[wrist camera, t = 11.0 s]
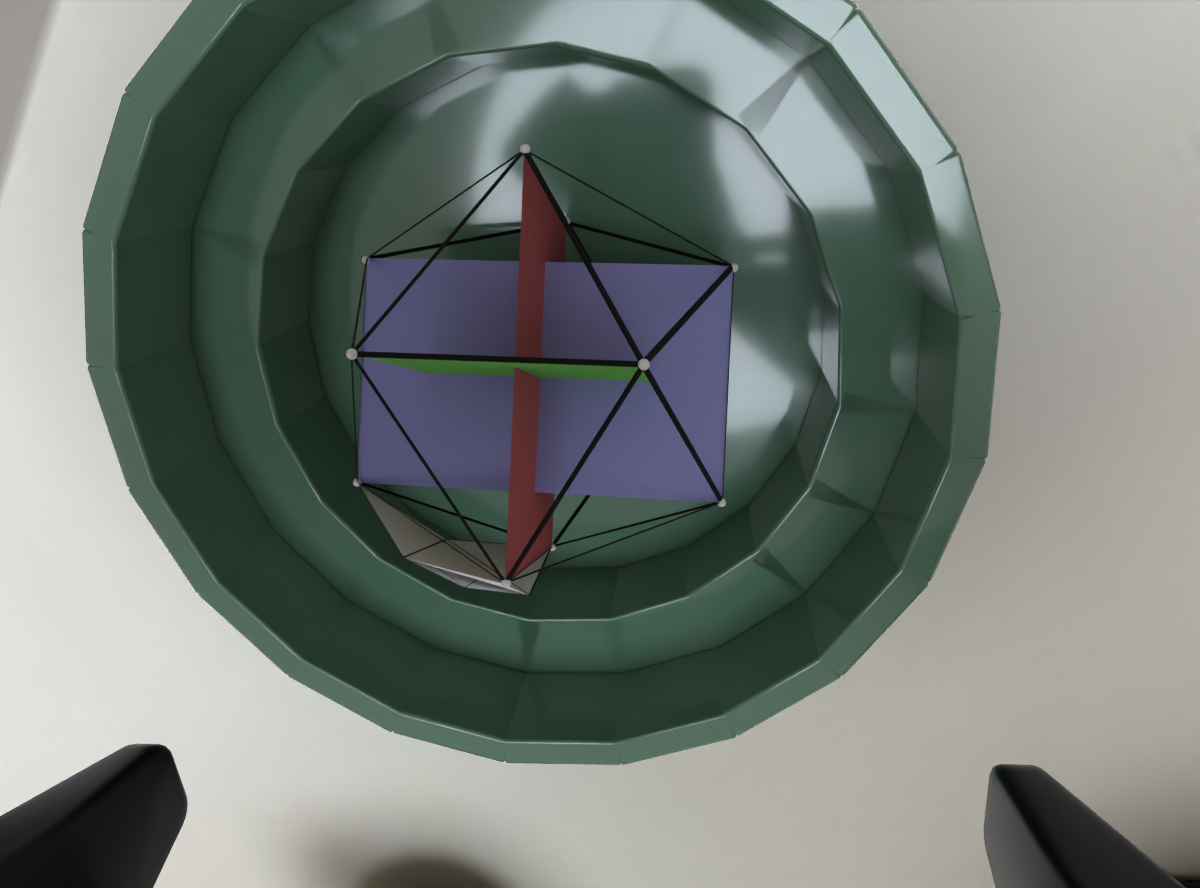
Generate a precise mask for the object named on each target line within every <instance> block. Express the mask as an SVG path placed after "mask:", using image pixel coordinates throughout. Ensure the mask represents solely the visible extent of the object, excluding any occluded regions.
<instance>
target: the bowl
mask: <svg viewBox="0 0 1200 888" xmlns="http://www.w3.org/2000/svg"><path fill="white" fill-rule="evenodd" d="M856 8H857V6H856V4H855V3H853V2H852V1H850V0H192V2H191V3H190V4H189V6H188V7H187V8H186V10H185V11H184V12H183V14H182V15H181V16H180V18H179V19H178V20H177V21H176V23H175V24H174V25H173V27H172V28H171V29H170V31H169V32H168V33H167V35H166V36H165V37H164V39H163V40H162V41H161V42H160V44H159V45H158V46H157V48H156V49H155V50H154V52H153V53H152V54H151V56H150V57H149V58H148V60H147V61H146V62H145V63H144V65H143V66H142V67H141V69H140V70H139V71H138V73H137V74H136V75H135V77H134V78H133V79H132V81H131V82H130V83H129V84H128V86H127V87H126V89H125V91H126V93H124V94H123V96H122V99H121V102H120V106H119V109H118V112H117V116H116V119H115V122H114V126H113V129H112V132H111V135H110V139H109V142H108V145H107V149H106V152H105V155H104V159H103V162H102V165H101V169H100V172H99V175H98V179H97V182H96V185H95V189H94V192H93V195H92V199H91V202H90V205H89V208H88V212H87V215H86V218H85V222H84V228H85V230H83V264H84V296H85V328H86V360H87V363H88V364H89V366H88V371H89V373H90V376H91V379H92V382H93V385H94V388H95V391H96V394H97V397H98V400H99V403H100V406H101V409H102V412H103V415H104V418H105V421H106V424H107V427H108V430H109V433H110V436H111V439H112V442H113V445H114V448H115V451H116V454H117V457H118V460H119V463H120V466H121V469H122V472H123V475H124V478H125V481H126V484H127V486H128V487H129V488H130V489H129V492H130V493H131V495H132V496H133V498H134V499H135V501H136V502H137V504H138V505H139V507H140V508H141V510H142V511H143V513H144V514H145V516H146V517H147V519H148V520H149V522H150V524H151V525H152V527H153V528H154V530H155V531H156V533H157V534H158V536H159V537H160V539H161V540H162V542H163V543H164V545H165V546H166V548H167V549H168V551H169V552H170V554H171V555H172V557H173V558H174V560H175V561H176V563H177V564H178V566H179V567H180V569H181V570H182V572H183V573H184V575H185V576H186V578H187V579H188V581H189V582H190V584H191V585H192V587H193V588H194V590H195V591H196V592H197V593H199V596H200V597H201V598H203V599H204V600H205V601H206V602H207V603H208V604H209V605H210V606H211V607H212V608H214V609H215V610H216V611H217V612H218V613H219V614H220V615H221V616H222V617H223V618H225V619H226V620H227V621H228V622H229V623H230V624H231V625H232V626H233V627H235V628H236V629H237V630H238V631H239V632H240V633H241V634H242V635H243V636H244V637H246V638H247V639H248V640H249V641H250V642H251V643H252V644H253V645H254V646H255V647H257V648H258V649H259V650H260V651H261V652H262V653H263V654H264V655H265V656H266V657H268V658H269V659H270V660H271V661H272V662H273V663H274V664H275V665H276V666H277V667H279V668H280V669H281V670H282V671H283V672H284V673H285V674H289V675H288V676H289V677H291V678H292V679H294V680H296V681H298V682H300V683H302V684H303V685H305V686H307V687H309V688H311V689H313V690H314V691H316V692H318V693H320V694H322V695H323V696H325V697H327V698H329V699H331V700H333V701H334V702H336V703H338V704H340V705H342V706H344V707H345V708H347V709H349V710H351V711H353V712H355V713H356V714H358V715H360V716H362V717H364V718H366V719H367V720H369V721H371V722H373V723H375V724H377V725H378V726H380V727H382V728H384V729H386V730H388V731H389V732H392V731H393V732H394V733H397V734H400V735H404V736H408V737H411V738H415V739H419V740H423V741H426V742H430V743H434V744H437V745H441V746H445V747H449V748H452V749H456V750H460V751H464V752H467V753H471V754H475V755H478V756H482V757H486V758H490V759H493V760H497V761H501V762H504V761H506V762H507V763H542V764H596V765H620V764H623V765H625V764H629V763H633V762H637V761H641V760H645V759H649V758H653V757H657V756H662V755H666V754H670V753H674V752H678V751H682V750H686V749H690V748H694V747H698V746H703V745H707V744H711V743H715V742H719V741H723V740H727V739H731V738H734V737H735V736H736V735H740V734H742V733H744V732H746V731H747V730H749V729H751V728H753V727H754V726H756V725H758V724H760V723H761V722H763V721H765V720H767V719H768V718H770V717H772V716H774V715H775V714H777V713H779V712H781V711H782V710H784V709H786V708H788V707H789V706H791V705H793V704H795V703H797V702H798V701H800V700H802V699H804V698H805V697H807V696H809V695H811V694H812V693H814V692H816V691H818V690H819V689H821V688H823V687H825V686H826V685H828V684H830V683H832V682H833V681H835V680H837V679H839V678H840V676H841V675H844V674H845V673H846V672H847V671H848V670H849V669H850V668H851V667H852V666H853V665H854V664H855V663H856V661H857V660H858V659H859V658H860V657H861V656H862V655H863V654H864V653H865V652H866V651H867V650H868V649H869V648H870V647H871V645H872V644H873V643H874V642H875V641H876V640H877V639H878V638H879V637H880V636H881V635H882V634H883V633H884V632H885V631H886V629H887V628H888V627H889V626H890V625H891V624H892V623H893V622H894V621H895V620H896V619H897V618H898V617H899V616H900V615H901V613H902V612H903V611H904V610H905V609H906V608H907V607H908V606H909V605H910V604H911V603H912V602H913V601H914V600H915V599H916V597H917V596H918V595H919V594H920V593H921V592H922V591H923V590H924V589H925V588H926V587H927V585H928V582H929V581H930V580H931V579H932V577H933V574H934V572H935V570H936V568H937V566H938V563H939V561H940V559H941V557H942V555H943V553H944V550H945V548H946V546H947V544H948V542H949V540H950V537H951V535H952V533H953V531H954V529H955V527H956V524H957V522H958V520H959V518H960V516H961V513H962V511H963V509H964V507H965V505H966V503H967V500H968V498H969V496H970V494H971V492H972V490H973V487H974V485H975V483H976V481H977V479H978V476H979V474H980V472H981V470H982V468H983V466H984V463H985V458H987V456H988V446H989V435H990V424H991V413H992V403H993V392H994V381H995V370H996V359H997V349H998V338H999V327H1000V316H1001V312H1000V310H999V309H1000V303H999V299H998V295H997V292H996V288H995V284H994V280H993V276H992V272H991V269H990V265H989V261H988V257H987V253H986V249H985V246H984V242H983V238H982V234H981V230H980V227H979V223H978V219H977V215H976V211H975V207H974V204H973V200H972V196H971V192H970V188H969V184H968V181H967V177H966V173H965V169H964V165H963V161H962V158H961V154H960V153H959V152H957V148H956V145H955V144H954V143H953V141H952V140H951V138H950V137H949V135H948V134H947V133H946V131H945V130H944V128H943V127H942V125H941V124H940V122H939V121H938V120H937V118H936V117H935V115H934V114H933V112H932V111H931V110H930V108H929V107H928V105H927V104H926V102H925V101H924V100H923V98H922V97H921V95H920V94H919V92H918V91H917V89H916V88H915V87H914V85H913V84H912V82H911V81H910V79H909V78H908V77H907V75H906V74H905V72H904V71H903V69H902V68H901V67H900V65H899V64H898V62H897V61H896V59H895V58H894V56H893V55H892V54H891V52H890V51H889V49H888V48H887V46H886V45H885V44H884V42H883V41H882V39H881V38H880V36H879V35H878V34H877V32H876V31H875V29H874V28H873V26H872V25H871V23H870V22H869V21H868V19H867V18H866V16H865V15H864V13H863V12H862V11H861V10H859V9H857V10H856ZM522 144H528V145H529V147H530V152H531V153H533V154H535V155H537V156H538V157H540V158H542V159H544V160H546V161H547V162H549V163H551V164H553V165H554V166H556V167H558V168H560V169H562V170H563V171H565V172H567V173H569V174H571V175H572V176H574V177H576V178H578V179H580V180H581V181H583V182H585V183H587V184H589V185H590V186H592V187H594V188H596V189H597V190H599V191H601V192H603V193H605V194H606V195H608V196H610V197H612V198H614V199H615V200H617V201H619V202H621V203H623V204H624V205H626V206H628V207H630V208H632V209H633V210H635V211H637V212H639V213H640V214H642V215H644V216H646V217H648V218H649V219H651V220H653V221H655V222H657V223H658V224H660V225H662V226H664V227H666V228H667V229H669V230H671V231H673V232H675V233H676V234H678V235H680V236H682V237H683V238H685V239H687V240H689V241H691V242H692V243H694V244H696V245H698V246H700V247H701V248H703V249H705V250H707V251H709V252H710V253H712V254H714V255H716V256H718V257H719V258H721V259H723V260H725V261H726V262H728V263H730V264H732V263H735V264H737V265H738V270H737V271H736V272H734V282H733V303H732V323H731V344H730V365H729V386H728V407H727V427H726V448H725V469H724V490H723V498H724V499H725V500H726V505H725V506H724V507H720V506H718V505H715V506H712V507H710V508H707V509H704V510H702V511H699V512H696V513H694V514H691V515H688V516H686V517H683V518H680V519H678V520H675V521H672V522H670V523H667V524H664V525H662V526H659V527H656V528H654V529H651V530H648V531H646V532H643V533H640V534H638V535H635V536H632V537H630V538H627V539H624V540H622V541H619V542H616V543H614V544H611V545H608V546H606V547H603V548H600V549H598V550H595V551H592V552H590V553H587V554H584V555H582V556H579V557H576V558H574V559H571V560H568V561H566V562H563V563H560V564H557V565H555V566H552V567H549V568H547V569H544V570H542V571H541V573H540V575H539V577H538V580H537V582H536V584H535V586H534V589H533V591H532V593H531V595H530V596H529V595H521V594H513V593H504V592H496V591H488V590H479V589H471V588H464V587H462V586H460V585H458V584H456V583H454V582H452V581H450V580H448V579H446V578H444V577H442V576H440V575H438V574H436V573H434V572H432V571H430V570H428V569H426V568H424V567H421V566H419V565H417V564H415V563H413V562H411V561H409V560H407V559H405V558H403V557H402V556H401V554H400V552H399V551H398V549H397V547H396V546H395V544H394V542H393V541H392V539H391V538H390V536H389V534H388V533H387V531H386V529H385V528H384V526H383V524H382V523H381V521H380V520H379V518H378V516H377V515H376V513H375V511H374V510H373V508H372V506H371V505H370V503H369V502H368V500H367V498H366V497H365V495H364V493H363V492H362V490H361V488H360V487H356V486H354V485H353V480H354V479H356V478H357V476H356V455H355V435H354V415H353V395H352V374H351V359H349V358H347V356H346V352H347V350H348V349H351V348H352V342H353V336H354V330H355V323H356V317H357V311H358V305H359V299H360V293H361V287H362V281H363V275H364V268H365V264H364V263H363V262H362V257H363V256H370V255H371V254H373V253H374V252H376V251H377V250H379V249H380V248H381V247H383V246H384V245H386V244H387V243H389V242H390V241H392V240H393V239H394V238H396V237H397V236H399V235H400V234H402V233H403V232H405V231H406V230H407V229H409V228H410V227H412V226H413V225H415V224H416V223H418V222H419V221H420V220H422V219H423V218H425V217H426V216H428V215H429V214H431V213H432V212H433V211H435V210H436V209H438V208H439V207H441V206H442V205H444V204H445V203H446V202H448V201H449V200H451V199H452V198H454V197H455V196H457V195H458V194H459V193H461V192H462V191H464V190H465V189H467V188H468V187H470V186H471V185H472V184H474V183H475V182H477V181H478V180H480V179H481V178H483V177H484V176H486V175H487V174H488V173H490V172H491V171H493V170H494V169H496V168H497V167H499V166H500V165H501V164H503V163H504V162H506V161H507V160H509V159H510V158H512V157H513V156H514V155H516V154H517V153H519V152H520V146H521V145H522ZM530 155H531V154H530ZM531 156H532V155H531ZM515 158H516V157H515ZM515 158H514V159H515ZM532 158H533V160H534V162H535V164H536V165H537V167H538V169H539V171H540V173H541V174H542V176H543V178H544V180H545V182H546V183H547V185H548V187H549V189H550V191H551V192H552V194H553V196H554V198H555V199H556V201H557V203H558V205H559V206H560V208H561V210H562V212H563V213H564V215H565V217H568V218H570V220H571V222H573V223H577V224H581V225H584V226H588V227H592V228H596V229H600V230H603V231H607V232H611V233H615V234H618V235H622V236H626V237H630V238H633V239H637V240H641V241H645V242H649V243H652V244H656V245H660V246H664V247H667V248H671V249H675V250H679V251H683V252H686V253H690V254H694V255H698V256H701V257H705V258H709V259H713V260H717V261H720V262H723V261H721V260H719V259H717V258H716V257H714V256H712V255H710V254H708V253H707V252H705V251H703V250H701V249H699V248H698V247H696V246H694V245H692V244H690V243H689V242H687V241H685V240H683V239H682V238H680V237H678V236H676V235H674V234H673V233H671V232H669V231H667V230H665V229H664V228H662V227H660V226H658V225H656V224H655V223H653V222H651V221H649V220H647V219H646V218H644V217H642V216H640V215H638V214H637V213H635V212H633V211H631V210H629V209H628V208H626V207H624V206H622V205H620V204H619V203H617V202H615V201H613V200H611V199H610V198H608V197H606V196H604V195H602V194H601V193H599V192H597V191H595V190H593V189H592V188H590V187H588V186H586V185H585V184H583V183H581V182H579V181H577V180H576V179H574V178H572V177H570V176H568V175H567V174H565V173H563V172H561V171H559V170H558V169H556V168H554V167H552V166H550V165H549V164H547V163H545V162H543V161H541V160H540V159H538V158H536V157H534V156H532ZM514 159H512V160H511V161H509V162H508V163H506V164H505V165H503V166H502V167H500V168H499V169H498V170H496V171H495V172H493V173H492V174H490V175H489V176H487V177H486V178H484V179H483V180H482V181H480V182H479V183H477V184H476V185H474V186H473V187H471V188H470V189H469V190H467V191H466V192H464V193H463V194H461V195H460V196H458V197H457V198H455V199H454V200H453V201H451V202H450V203H448V204H447V205H445V206H444V207H442V208H441V209H440V210H438V211H437V212H435V213H434V214H432V215H431V216H429V217H428V218H426V219H425V220H424V221H422V222H421V223H419V224H418V225H416V226H415V227H413V228H412V229H410V230H409V231H408V232H406V233H405V234H403V235H402V236H400V237H399V238H397V239H396V240H395V241H393V242H392V243H390V244H389V245H387V246H386V247H384V248H383V249H381V250H380V251H379V252H377V253H376V254H374V255H379V254H384V253H390V252H395V251H401V250H406V249H412V248H417V247H423V246H428V245H434V244H439V243H444V241H445V240H446V239H447V238H448V237H449V236H450V234H451V233H452V232H453V231H454V230H455V228H456V227H457V226H458V225H459V224H460V223H461V221H462V220H463V219H464V218H465V217H466V215H467V214H468V213H469V212H470V211H471V210H472V208H473V207H474V206H475V205H476V204H477V203H478V201H479V200H480V199H481V198H482V197H483V195H484V194H485V193H486V192H487V191H488V190H489V188H490V187H491V186H492V185H493V184H494V182H495V181H496V180H497V179H498V178H499V177H500V175H501V174H502V173H503V172H504V171H505V169H506V168H507V167H508V166H509V165H510V164H511V162H512V161H513V160H514ZM523 167H524V155H522V156H521V157H520V159H519V160H518V161H517V162H516V163H515V165H514V166H513V167H512V168H511V169H510V170H509V172H508V173H507V174H506V175H505V176H504V178H503V179H502V180H501V181H500V182H499V183H498V185H497V186H496V187H495V188H494V189H493V191H492V192H491V193H490V194H489V195H488V197H487V198H486V199H485V200H484V201H483V202H482V204H481V205H480V206H479V207H478V208H477V210H476V211H475V212H474V213H473V214H472V215H471V217H470V218H469V219H468V220H467V221H466V223H465V224H464V225H463V226H462V227H461V228H460V230H459V231H458V232H457V233H456V234H455V236H454V237H453V238H452V239H451V240H450V241H456V240H461V239H467V238H472V237H478V236H483V235H489V234H494V233H500V232H505V231H510V230H516V229H521V212H522V189H523ZM572 228H573V229H574V231H575V233H576V235H577V237H578V238H579V240H580V242H581V244H582V245H583V247H584V249H585V251H586V253H587V254H588V256H589V258H590V260H591V262H592V263H624V264H671V265H716V264H712V263H709V262H705V261H701V260H697V259H694V258H690V257H686V256H682V255H679V254H675V253H671V252H668V251H664V250H660V249H656V248H653V247H649V246H645V245H642V244H638V243H634V242H630V241H627V240H623V239H619V238H615V237H612V236H608V235H604V234H601V233H597V232H593V231H589V230H586V229H582V228H578V227H575V226H572ZM520 234H521V233H515V234H510V235H504V236H499V237H494V238H488V239H483V240H477V241H472V242H466V243H461V244H456V245H450V246H445V247H444V249H443V250H442V251H441V252H440V253H439V254H438V256H437V257H436V258H435V259H436V260H483V261H519V257H520ZM450 241H449V242H450ZM438 249H439V248H434V249H428V250H423V251H418V252H412V253H407V254H401V255H396V256H391V257H385V258H389V259H430V258H431V257H432V256H433V254H434V253H435V252H436V251H437V250H438ZM565 262H577V263H584V262H583V261H582V259H581V257H580V255H579V253H578V252H577V250H576V248H575V246H574V244H573V242H572V241H571V239H570V237H569V235H568V233H567V232H566V246H565ZM724 263H725V262H724ZM718 266H720V265H718ZM364 296H365V280H364V287H363V293H362V299H361V306H360V312H359V318H358V325H357V331H356V337H355V344H354V348H355V347H356V345H357V344H358V343H359V342H360V341H361V339H362V338H363V320H364ZM357 351H362V346H361V347H360V348H359V349H358V350H357ZM357 360H358V361H359V363H360V364H361V366H362V357H357ZM353 378H354V400H355V422H356V444H357V464H358V440H359V416H360V392H361V371H360V369H359V368H358V366H357V365H356V363H355V362H354V360H353ZM366 484H369V485H372V486H375V487H378V488H381V489H384V490H387V491H390V492H393V493H396V494H399V495H402V496H405V497H408V498H411V499H414V500H417V501H420V502H423V503H426V504H429V505H432V506H435V507H438V508H441V509H444V510H447V511H450V512H453V513H456V512H455V511H454V509H453V508H452V506H451V505H450V503H449V502H448V500H447V499H446V497H445V496H444V494H443V493H442V491H441V490H440V488H439V487H430V486H412V485H394V484H375V483H366ZM363 486H364V485H363ZM365 487H366V488H368V489H369V490H370V491H372V492H373V493H375V494H376V495H378V496H379V497H381V498H382V499H384V500H386V501H387V502H389V503H390V504H392V505H394V506H395V507H397V508H398V509H400V510H402V511H403V512H405V513H406V514H408V515H410V516H411V517H413V518H414V519H416V520H418V521H419V522H421V523H422V524H424V525H426V526H427V527H429V528H430V529H432V530H433V531H435V532H437V533H438V534H440V535H441V536H443V537H445V538H446V539H455V540H467V541H475V540H474V539H473V537H472V536H471V535H470V533H469V532H468V530H467V529H466V527H465V526H464V524H463V523H462V521H461V520H460V518H459V517H457V516H454V515H451V514H448V513H445V512H442V511H439V510H436V509H433V508H430V507H427V506H424V505H421V504H418V503H415V502H412V501H409V500H406V499H403V498H400V497H397V496H394V495H391V494H388V493H385V492H382V491H379V490H376V489H373V488H370V487H367V486H365ZM443 488H444V490H445V491H446V493H447V494H448V496H449V497H450V499H451V500H452V502H453V503H454V505H455V506H456V508H457V509H458V511H459V512H460V514H461V515H462V516H465V517H468V518H471V519H474V520H477V521H480V522H483V523H486V524H489V525H492V526H495V527H498V528H501V529H504V530H507V527H508V505H509V491H503V490H484V489H466V488H448V487H443ZM557 496H558V494H557V493H554V501H555V499H556V498H557ZM585 496H586V495H575V494H565V495H564V496H563V498H562V500H561V501H560V503H559V504H558V506H557V507H556V509H555V511H554V512H553V534H552V542H553V541H554V540H555V538H556V537H557V535H558V534H559V533H560V531H561V530H562V528H563V527H564V526H565V524H566V523H567V521H568V520H569V519H570V517H571V516H572V514H573V513H574V512H575V510H576V509H577V507H578V506H579V505H580V503H581V502H582V500H583V499H584V498H585ZM710 503H714V502H703V501H684V500H666V499H648V498H630V497H612V496H594V495H591V496H590V497H589V499H588V500H587V501H586V503H585V504H584V506H583V507H582V508H581V510H580V511H579V513H578V514H577V515H576V517H575V518H574V520H573V521H572V522H571V524H570V525H569V527H568V528H567V529H566V531H565V532H564V534H563V535H562V536H561V538H560V539H559V541H558V542H557V543H556V544H559V543H563V542H566V541H570V540H574V539H578V538H582V537H585V536H589V535H593V534H597V533H600V532H604V531H608V530H612V529H616V528H619V527H623V526H627V525H631V524H635V523H638V522H642V521H646V520H650V519H654V518H657V517H661V516H665V515H669V514H672V513H676V512H680V511H684V510H688V509H691V508H695V507H699V506H703V505H707V504H710ZM701 509H702V508H701ZM697 510H699V509H697ZM694 511H696V510H693V511H690V512H686V513H682V514H678V515H674V516H671V517H667V518H663V519H659V520H655V521H651V522H648V523H644V524H640V525H636V526H632V527H628V528H625V529H621V530H617V531H613V532H609V533H606V534H602V535H598V536H594V537H590V538H586V539H583V540H579V541H575V542H571V543H567V544H563V545H560V546H556V549H555V550H554V551H551V550H550V553H549V555H548V557H547V559H546V562H545V564H544V566H543V568H544V567H546V566H549V565H552V564H554V563H557V562H560V561H562V560H565V559H568V558H570V557H573V556H576V555H579V554H581V553H584V552H587V551H589V550H592V549H595V548H597V547H600V546H603V545H605V544H608V543H611V542H613V541H616V540H619V539H621V538H624V537H627V536H629V535H632V534H635V533H638V532H640V531H643V530H646V529H648V528H651V527H654V526H656V525H659V524H662V523H664V522H667V521H670V520H672V519H675V518H678V517H680V516H683V515H686V514H688V513H691V512H694ZM465 521H466V522H467V524H468V525H469V527H470V528H471V530H472V531H473V533H474V534H475V536H476V537H477V539H478V540H479V542H492V543H504V544H507V533H505V532H502V531H499V530H496V529H493V528H490V527H487V526H484V525H481V524H478V523H475V522H472V521H469V520H466V519H465Z"/></svg>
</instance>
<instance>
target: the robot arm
mask: <svg viewBox="0 0 1200 888" xmlns="http://www.w3.org/2000/svg"><path fill="white" fill-rule="evenodd" d="M187 806H188V805H187V796H186V793H185V790H184V787H183V784H182V782H181V779H180V776H179V773H178V770H177V767H176V764H175V762H174V759H173V756H172V754H171V752H170V750H169V749H168V748H167V747H166V746H163V745H159V744H132V745H128V746H125V747H123V748H121V749H120V750H118V751H116V752H114V753H113V754H111V755H109V756H107V757H105V758H104V759H102V760H100V761H98V762H96V763H95V764H93V765H91V766H89V767H88V768H86V769H84V770H82V771H80V772H79V773H77V774H75V775H73V776H71V777H70V778H68V779H66V780H64V781H62V782H61V783H59V784H57V785H55V786H54V787H52V788H50V789H48V790H46V791H45V792H43V793H41V794H39V795H37V796H36V797H34V798H32V799H30V800H29V801H27V802H25V803H23V804H21V805H20V806H18V807H16V808H14V809H12V810H11V811H9V812H7V813H5V814H3V815H2V816H0V888H153V886H154V884H155V882H156V880H157V878H158V876H159V874H160V872H161V869H162V867H163V865H164V863H165V861H166V859H167V857H168V855H169V853H170V850H171V848H172V846H173V844H174V842H175V840H176V838H177V836H178V834H179V831H180V829H181V827H182V825H183V823H184V820H185V817H186V813H187ZM984 840H985V846H986V852H987V856H988V860H989V863H990V867H991V871H992V875H993V879H994V882H995V886H996V888H1200V882H1180V881H1177V880H1175V879H1174V878H1173V877H1172V876H1171V875H1169V874H1168V873H1167V872H1166V871H1165V870H1163V869H1162V868H1161V867H1160V866H1159V865H1157V864H1156V863H1155V862H1154V861H1152V860H1151V859H1150V858H1149V857H1148V856H1146V855H1145V854H1144V853H1143V852H1142V851H1140V850H1139V849H1138V848H1137V847H1136V846H1134V845H1133V844H1132V843H1131V842H1130V841H1128V840H1127V839H1126V838H1125V837H1124V836H1122V835H1121V834H1120V833H1119V832H1118V831H1116V830H1115V829H1114V828H1113V827H1112V826H1110V825H1109V824H1108V823H1107V822H1106V821H1104V820H1103V819H1102V818H1101V817H1100V816H1098V815H1097V814H1096V813H1095V812H1093V811H1092V810H1091V809H1090V808H1089V807H1087V806H1086V805H1085V804H1084V803H1083V802H1081V801H1080V800H1079V799H1078V798H1077V797H1075V796H1074V795H1073V794H1072V793H1071V792H1069V791H1068V790H1067V789H1066V788H1065V787H1063V786H1062V785H1061V784H1060V783H1059V782H1057V781H1056V780H1055V779H1054V778H1053V777H1051V776H1050V775H1049V774H1048V773H1047V772H1045V771H1044V770H1043V769H1041V768H1039V767H1037V766H1034V765H1014V764H999V765H996V766H994V767H993V768H992V770H991V773H990V776H989V784H988V793H987V803H986V812H985V821H984Z"/></svg>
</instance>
